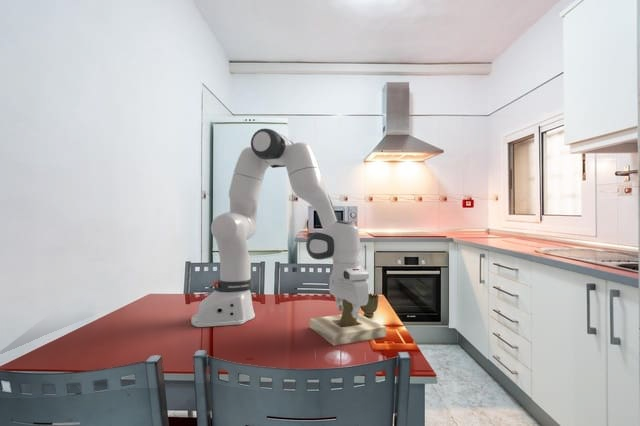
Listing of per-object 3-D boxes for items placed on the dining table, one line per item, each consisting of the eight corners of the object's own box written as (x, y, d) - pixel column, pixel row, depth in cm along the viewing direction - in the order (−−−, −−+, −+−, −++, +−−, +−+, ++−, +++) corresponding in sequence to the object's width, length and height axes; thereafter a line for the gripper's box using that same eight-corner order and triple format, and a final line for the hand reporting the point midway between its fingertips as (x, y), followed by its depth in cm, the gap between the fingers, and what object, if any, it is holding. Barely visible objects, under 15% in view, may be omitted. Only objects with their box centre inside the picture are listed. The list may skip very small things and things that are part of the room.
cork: (345, 336, 104) (348, 304, 102) (334, 326, 109) (338, 295, 107) (360, 332, 107) (364, 300, 105) (350, 323, 112) (353, 292, 110)
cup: (378, 319, 121) (378, 297, 121) (358, 318, 122) (357, 296, 123) (379, 314, 128) (378, 293, 128) (359, 313, 130) (359, 292, 130)
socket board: (333, 345, 96) (333, 335, 96) (310, 327, 112) (310, 318, 113) (385, 336, 103) (385, 327, 103) (356, 320, 120) (356, 312, 120)
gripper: (324, 267, 117) (325, 307, 116) (353, 276, 98) (354, 323, 97) (340, 266, 119) (341, 305, 119) (371, 274, 100) (372, 320, 100)
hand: (347, 313), depth 108 cm, fingers open, 8 cm apart
